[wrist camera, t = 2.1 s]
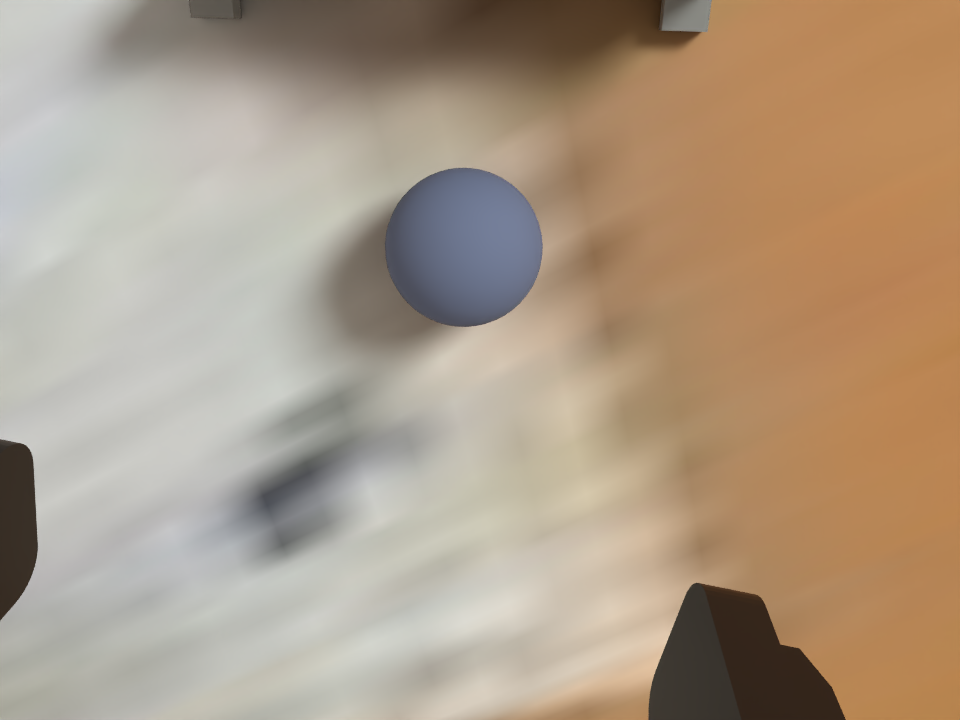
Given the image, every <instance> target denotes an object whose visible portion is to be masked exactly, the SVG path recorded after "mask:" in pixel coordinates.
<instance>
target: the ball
mask: <svg viewBox="0 0 960 720" xmlns="http://www.w3.org/2000/svg"><path fill="white" fill-rule="evenodd" d="M385 250H386V261H387V266H388V270H389V273H390V276H391V278H392V280H393V282H394V284H395V286H396V288H397V289H398V291H399V292H400V294H401V295H402V297H403V298H404V299H405V300H406V301H407V303H409V304H410V305H411V306H412V307H413V308H414V309H415V310H417V311H418V312H419V313H421V314H422V315H424V316H426V317H427V318H429V319H431V320H434V321H436V322H439V323H442V324H446V325H451V326H459V327H469V326H477V325H482V324H486V323H489V322H491V321H494V320H497V319H498V318H500V317H502V316H504V315H506V314H507V313H509V312H510V311H512V310H513V309H514V308H515V307H516V306H517V305H518V304H520V302H521V301H522V300H523V299H524V298H525V297H526V295H527V294H528V292H529V291H530V289H531V288H532V286H533V284H534V282H535V280H536V278H537V275H538V272H539V269H540V265H541V259H542V235H541V231H540V227H539V223H538V220H537V218H536V215H535V213H534V211H533V209H532V207H531V205H530V204H529V202H528V201H527V200H526V198H525V197H524V196H523V195H522V194H521V193H520V192H519V191H518V189H517V188H515V187H514V186H513V185H511V184H510V183H509V182H507V181H506V180H504V179H502V178H501V177H499V176H497V175H494V174H492V173H490V172H486V171H483V170H479V169H472V168H455V169H448V170H444V171H440V172H437V173H435V174H432V175H430V176H428V177H426V178H425V179H423V180H421V181H420V182H418V183H417V184H416V185H415V186H413V187H412V188H411V189H410V190H409V191H408V192H407V193H406V194H405V195H404V196H403V197H402V199H401V200H400V202H399V203H398V204H397V206H396V208H395V210H394V212H393V214H392V216H391V219H390V222H389V224H388V228H387V233H386V241H385Z"/></svg>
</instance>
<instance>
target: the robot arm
mask: <svg viewBox="0 0 960 720" xmlns="http://www.w3.org/2000/svg"><path fill="white" fill-rule="evenodd" d="M37 551H38V542H37V523H36V504H35V486H34V467H33V457H32V454H31V452H30V450H29V448H28V447H27V446H26V445H24V444H21V443H16V442H11V441H6V440H1V439H0V620H1V619H2V618H3V617H4V615H5V614H6V613H7V612H8V611H9V610H10V609H11V607H12V606H13V605H14V604H15V603H16V602H17V600H18V599H19V598H20V596H21V595H22V593H23V592H24V590H25V588H26V586H27V585H28V582H29V580H30V578H31V575H32V573H33V570H34V567H35V563H36V558H37ZM649 720H846V719H845V717H844V715H843V712H842V710H841V708H840V705H839V703H838V701H837V698H836V696H835V694H834V691H833V689H832V687H831V686H830V685H829V683H828V682H827V681H826V680H825V679H824V677H823V676H822V675H821V674H820V673H819V671H818V670H817V669H816V668H815V667H814V666H813V664H812V663H811V662H810V661H809V660H808V658H807V657H806V656H805V655H804V654H803V652H802V651H801V650H800V649H799V648H794V647H789V646H784V645H780V643H779V640H778V638H777V635H776V632H775V630H774V627H773V624H772V622H771V619H770V616H769V614H768V611H767V608H766V606H765V604H764V602H763V600H762V599H761V598H760V597H759V596H758V595H755V594H750V593H745V592H740V591H735V590H730V589H725V588H720V587H715V586H710V585H705V584H700V583H694V584H693V585H692V586H691V587H690V588H689V590H688V591H687V593H686V596H685V598H684V600H683V603H682V605H681V608H680V611H679V613H678V616H677V618H676V621H675V623H674V626H673V628H672V631H671V633H670V636H669V638H668V641H667V644H666V646H665V649H664V651H663V654H662V656H661V659H660V661H659V664H658V666H657V669H656V672H655V674H654V678H653V681H652V686H651V691H650V699H649Z"/></svg>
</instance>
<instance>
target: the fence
mask: <svg viewBox="0 0 960 720" xmlns="http://www.w3.org/2000/svg"><path fill="white" fill-rule="evenodd" d="M711 1H712V0H662V3H661V12H660V22H659V30H662V31H697V32H707V31H708V24H709V16H710V8H711ZM189 4H190V13H191V17H198V18H233V19H234V18H241V8H240V0H189Z"/></svg>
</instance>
